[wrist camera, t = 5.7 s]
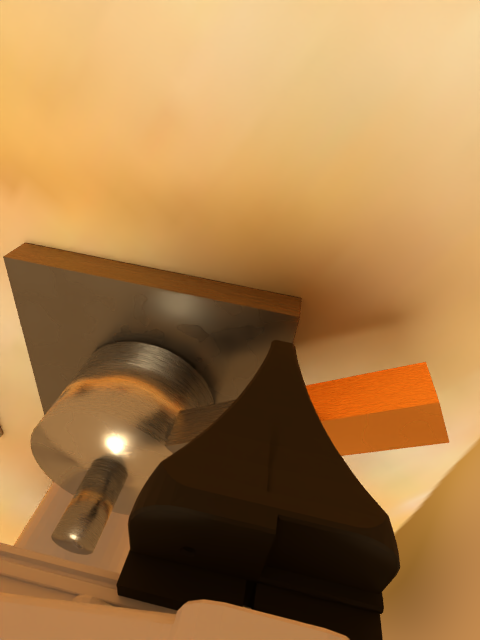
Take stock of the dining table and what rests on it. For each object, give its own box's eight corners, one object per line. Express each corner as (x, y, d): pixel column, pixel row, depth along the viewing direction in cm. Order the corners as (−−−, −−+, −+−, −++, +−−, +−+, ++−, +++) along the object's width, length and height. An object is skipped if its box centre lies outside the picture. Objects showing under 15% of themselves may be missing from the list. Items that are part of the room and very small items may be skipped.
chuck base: (257, 468, 25) (253, 489, 23) (64, 423, 25) (51, 441, 24) (301, 298, 17) (299, 317, 16) (25, 242, 18) (3, 256, 17)
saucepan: (130, 447, 23) (62, 588, 17) (56, 359, 20) (-62, 495, 14) (431, 397, 17) (492, 590, 11) (395, 258, 13) (453, 423, 7)
